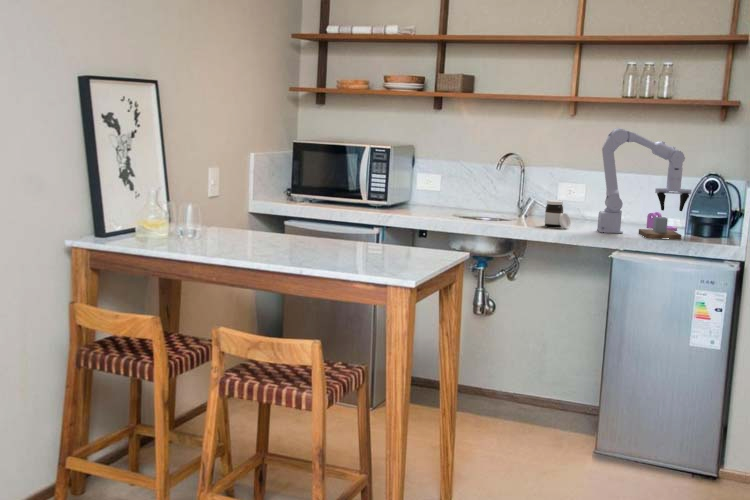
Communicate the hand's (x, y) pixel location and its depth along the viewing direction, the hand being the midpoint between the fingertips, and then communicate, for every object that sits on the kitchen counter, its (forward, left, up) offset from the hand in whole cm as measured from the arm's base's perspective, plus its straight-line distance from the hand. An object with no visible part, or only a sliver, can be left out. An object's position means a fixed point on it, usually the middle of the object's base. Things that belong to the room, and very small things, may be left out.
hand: (671, 210), depth 360 cm
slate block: (-6, -7, -8) cm, 12 cm away
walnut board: (-6, -7, -10) cm, 14 cm away
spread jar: (-46, +10, -11) cm, 48 cm away
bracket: (+2, +18, -11) cm, 21 cm away
